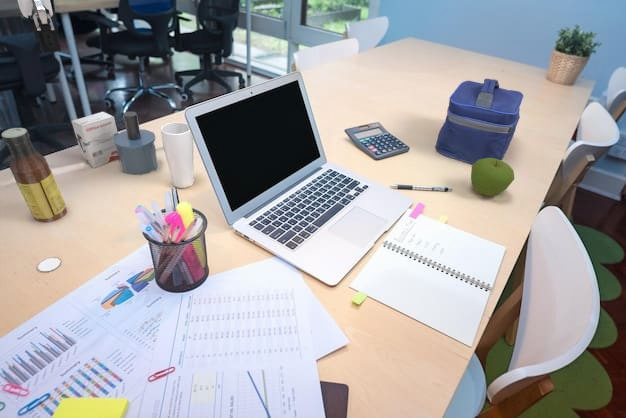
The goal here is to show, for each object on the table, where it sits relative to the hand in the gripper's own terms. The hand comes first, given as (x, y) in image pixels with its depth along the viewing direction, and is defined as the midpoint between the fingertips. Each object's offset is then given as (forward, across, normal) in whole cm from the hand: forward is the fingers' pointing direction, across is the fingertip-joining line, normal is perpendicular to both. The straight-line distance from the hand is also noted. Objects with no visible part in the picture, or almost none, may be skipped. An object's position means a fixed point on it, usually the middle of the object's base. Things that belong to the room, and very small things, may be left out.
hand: (48, 45), depth 80 cm
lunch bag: (+31, +37, +109) cm, 119 cm away
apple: (+31, +57, +88) cm, 109 cm away
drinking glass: (+31, +16, +19) cm, 39 cm away
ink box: (+31, -4, +5) cm, 31 cm away
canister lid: (+22, +4, +12) cm, 26 cm away
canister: (+30, +4, +12) cm, 33 cm away
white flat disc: (+30, +32, -12) cm, 46 cm away
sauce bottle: (+31, +16, -10) cm, 36 cm away
